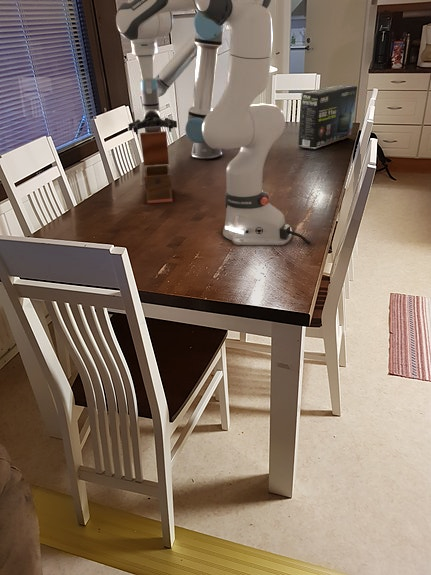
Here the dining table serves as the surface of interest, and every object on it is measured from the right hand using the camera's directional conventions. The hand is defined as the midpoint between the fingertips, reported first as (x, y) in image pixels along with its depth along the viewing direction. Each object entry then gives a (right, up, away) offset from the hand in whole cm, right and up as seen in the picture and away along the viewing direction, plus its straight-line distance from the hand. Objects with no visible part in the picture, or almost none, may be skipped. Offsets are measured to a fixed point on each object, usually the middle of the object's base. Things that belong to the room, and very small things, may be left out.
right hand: (149, 91), depth 164 cm
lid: (0, -17, +13) cm, 21 cm away
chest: (+1, -34, +19) cm, 39 cm away
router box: (+82, +7, +81) cm, 115 cm away
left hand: (-2, -6, +22) cm, 23 cm away
